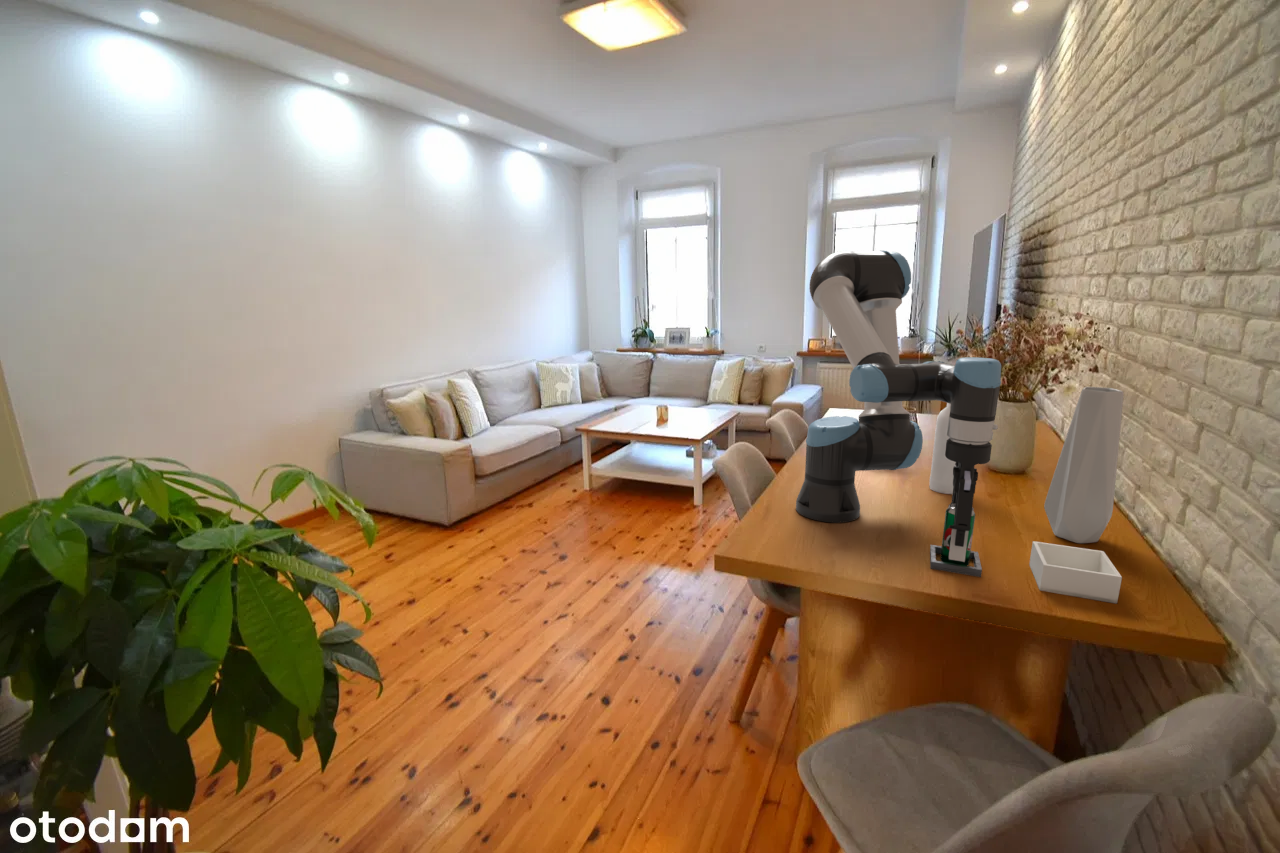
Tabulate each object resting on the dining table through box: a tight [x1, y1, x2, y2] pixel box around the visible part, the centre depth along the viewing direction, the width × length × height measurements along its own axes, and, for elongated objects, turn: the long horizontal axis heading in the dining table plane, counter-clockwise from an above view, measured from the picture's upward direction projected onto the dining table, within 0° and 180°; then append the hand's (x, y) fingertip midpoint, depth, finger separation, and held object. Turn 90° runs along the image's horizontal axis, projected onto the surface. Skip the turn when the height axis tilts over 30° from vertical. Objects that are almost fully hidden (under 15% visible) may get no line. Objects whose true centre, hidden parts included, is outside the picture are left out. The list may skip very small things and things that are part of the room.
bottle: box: [928, 402, 956, 495], centre depth 154 cm, size 8×8×30 cm
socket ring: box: [929, 544, 983, 578], centre depth 114 cm, size 9×9×2 cm
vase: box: [1043, 386, 1124, 544], centre depth 123 cm, size 12×12×33 cm
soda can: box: [939, 503, 976, 566], centre depth 113 cm, size 5×5×12 cm
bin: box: [1028, 540, 1123, 604], centre depth 106 cm, size 11×11×5 cm
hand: (955, 552), depth 114 cm, fingers open, 6 cm apart
